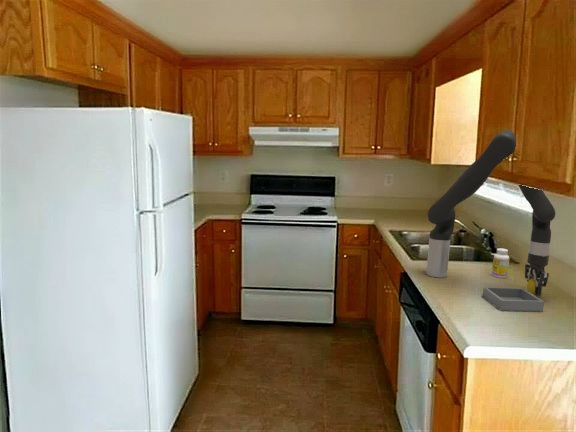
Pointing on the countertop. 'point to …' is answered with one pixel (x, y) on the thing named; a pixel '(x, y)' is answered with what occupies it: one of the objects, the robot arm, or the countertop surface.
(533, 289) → the lemon
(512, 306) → the box
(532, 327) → the countertop surface
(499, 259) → the supplement bottle
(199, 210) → the countertop surface
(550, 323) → the countertop surface
